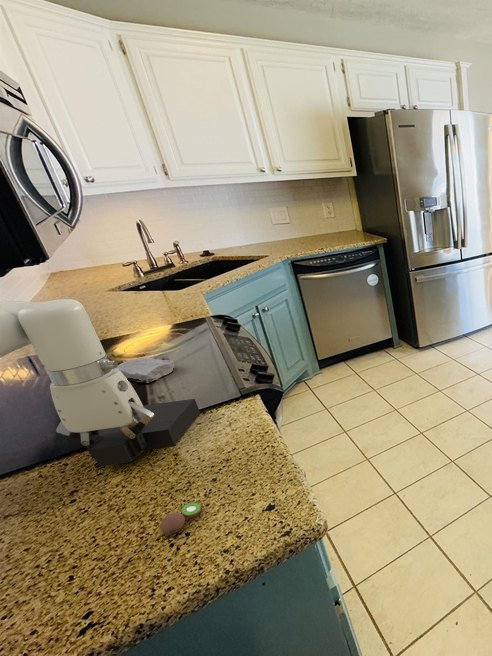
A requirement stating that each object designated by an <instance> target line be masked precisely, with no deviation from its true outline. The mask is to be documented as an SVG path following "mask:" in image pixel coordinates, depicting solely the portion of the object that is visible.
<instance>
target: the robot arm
mask: <svg viewBox="0 0 492 656" xmlns="http://www.w3.org/2000/svg"><path fill="white" fill-rule="evenodd" d="M29 345H31V346H32V348H33V349H34V352H35V353H36V355H37V357H38V359H39V361H40V363H41V364H42V366H43V368H44V370H45V372H46V374H47V377H48V378H49V380H50V381H51V383H50V385H49V388H50V394H51V395H50V396H51V399H52V402H53V405H54V408H55V411H56V413H57V416H58V417H59V419H60V422H59V423H58V425H57V427H56V429H55V432H56V433H57V434H60V435H63V436H67V437H70V438H71V439H73V440H76V441H78V442H80V444H81V445H82V446H84V447H86V446H87V445H88V447H89V449H91V448H92V447H93V446H95V445H96V444H97V443H98V442H99V441H100V440H101V439H102V438H103V437H104V436H103V435H101V436H99V430H102V429H109V428H115V427H118V428H119V429H120V430H121V431H122V432H123V433H124V434H125V435H126V436H127V437H128V439H127V440H126V442H127V444H128V446H129V448H130V450H131V453H132V455H133V456H134V457H135V458H136V457H137V458H138V457H140V455H141V454H142V453H143V452H144V451H145V450H144V449H145V448H146V442H145V440H144V437H143V435H142V433H141V431H142V430H143V428H144V427H145V426H146V424H147V423H148V422H149V421H150V420H151V419H152V418H153V417H154V416H155V414H154V413H152V412H151V411H149V410H147V409H145V408H144V407H143V403H142V401H141V399H140V397H139V395H138V394H137V392H136V390H135V388H134V386H133V385H132V383H131V382H129V381H128V380H127V378H126V377H125V376H124V375H123V374H122V372H121V371H120V370H119V369H114V368H117V367H118V365H119V363H118V361H117V360H110V358H109V356H108V355H107V353H106V351H105V349H104V347H103V344H102V342H101V340H100V338H99V336H98V334H97V331H96V330H95V328H94V324H93V323H92V321H91V319H90V316H89V313H88V312H87V310H86V308H85V306H84V305H83V304H82V303H81V302H80V301H79V300H76V299H72V298H70V299H69V298H59V299H51V300H45V301H21V300H7V301H0V359H1V358H3V357H5V356H7V355H9V354H11V353H13V352H14V351H17V350H19V349H22V348H24V347H27V346H29ZM133 415H136V416H138V417H140V418H141V420H140V421H139V422H138V421H137V420H136V419H135V418H134V417H133ZM129 425H130V426H131V427H132V428H133V429H132V428H131V427H130V426H129ZM90 451H91V450H90ZM91 453H92V452H91ZM92 455H93V454H92Z"/></svg>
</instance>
